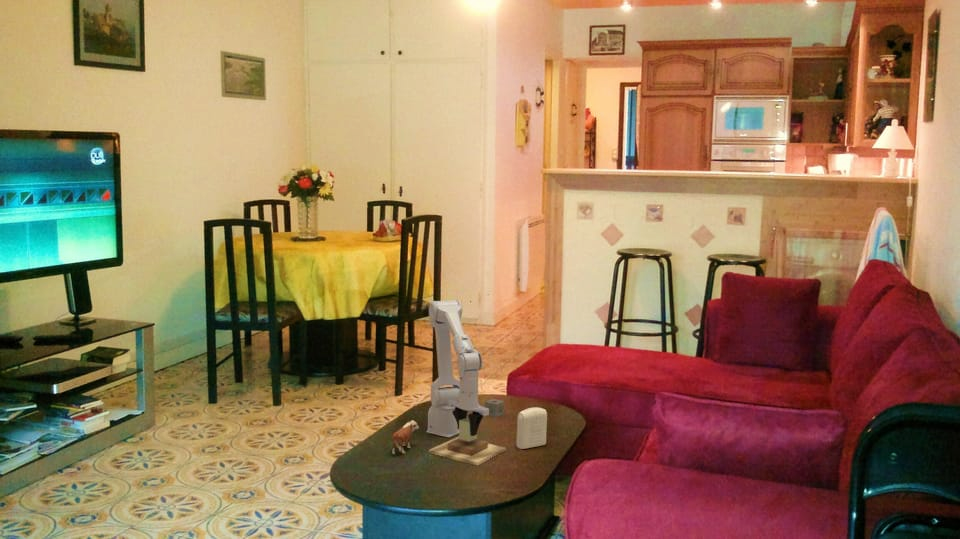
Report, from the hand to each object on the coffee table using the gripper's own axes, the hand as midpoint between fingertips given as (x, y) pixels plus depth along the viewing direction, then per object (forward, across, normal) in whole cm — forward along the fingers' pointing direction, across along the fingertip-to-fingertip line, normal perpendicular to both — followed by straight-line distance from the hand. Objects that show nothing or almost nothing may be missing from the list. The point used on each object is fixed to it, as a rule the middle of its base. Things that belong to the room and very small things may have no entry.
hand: (467, 433), depth 268 cm
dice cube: (+6, +17, -36) cm, 41 cm away
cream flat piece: (+6, 0, 0) cm, 6 cm away
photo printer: (+6, -12, -18) cm, 22 cm away
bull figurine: (+6, +16, +11) cm, 21 cm away
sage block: (+2, 0, 0) cm, 2 cm away
